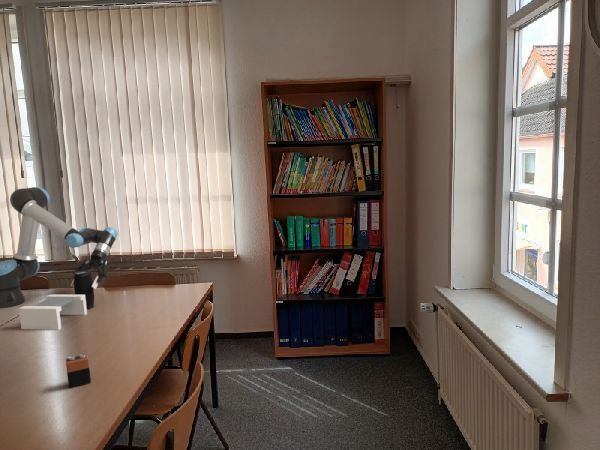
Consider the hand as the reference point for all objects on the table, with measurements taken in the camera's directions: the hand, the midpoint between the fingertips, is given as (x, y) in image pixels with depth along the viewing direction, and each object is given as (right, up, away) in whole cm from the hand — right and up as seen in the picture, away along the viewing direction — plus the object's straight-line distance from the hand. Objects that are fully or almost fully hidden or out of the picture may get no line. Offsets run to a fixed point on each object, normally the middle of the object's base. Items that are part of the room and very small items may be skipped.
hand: (82, 287), depth 241 cm
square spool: (-5, -14, -16) cm, 22 cm away
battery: (+37, -22, -82) cm, 93 cm away
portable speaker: (0, -11, +3) cm, 12 cm away
